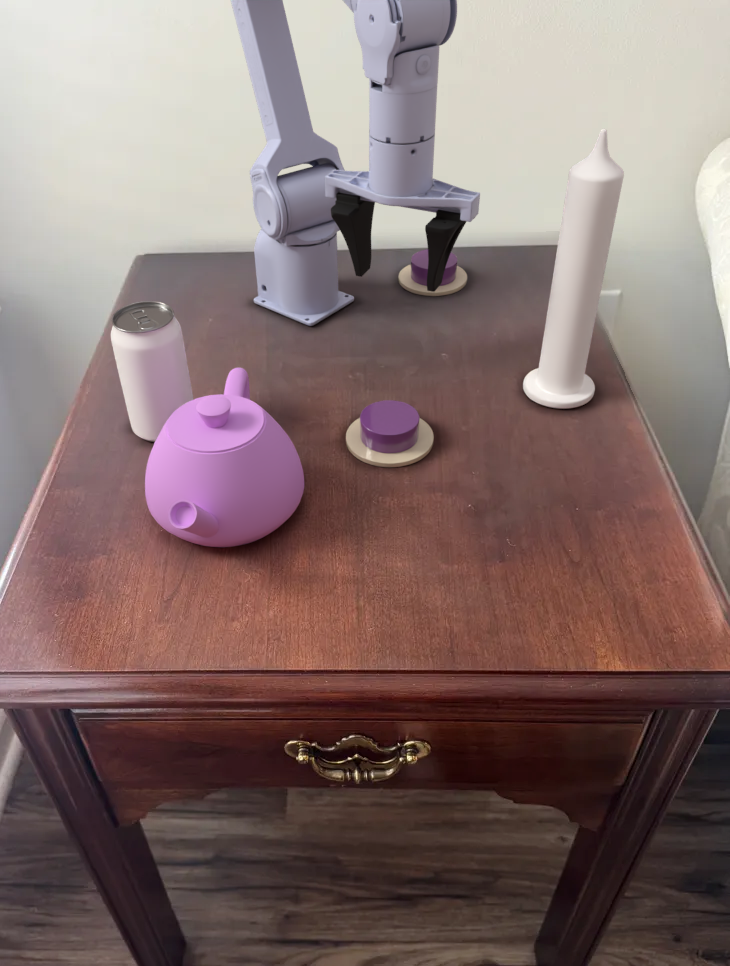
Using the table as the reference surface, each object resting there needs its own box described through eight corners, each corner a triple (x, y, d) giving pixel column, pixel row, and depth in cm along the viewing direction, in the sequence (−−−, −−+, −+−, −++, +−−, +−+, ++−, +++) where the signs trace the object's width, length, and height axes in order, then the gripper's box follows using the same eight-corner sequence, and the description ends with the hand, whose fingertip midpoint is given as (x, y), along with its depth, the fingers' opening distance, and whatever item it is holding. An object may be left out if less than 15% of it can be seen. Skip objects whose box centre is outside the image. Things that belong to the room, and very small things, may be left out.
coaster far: (384, 282, 105) (384, 279, 105) (425, 258, 109) (425, 254, 109) (440, 303, 101) (440, 299, 101) (480, 276, 105) (480, 272, 105)
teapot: (114, 584, 69) (83, 483, 62) (181, 436, 83) (163, 340, 76) (280, 599, 67) (269, 497, 60) (320, 446, 82) (316, 348, 74)
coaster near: (327, 444, 82) (327, 440, 81) (382, 404, 86) (382, 400, 86) (397, 479, 78) (397, 475, 77) (450, 435, 82) (451, 431, 82)
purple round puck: (404, 282, 104) (405, 265, 102) (417, 262, 108) (418, 246, 106) (449, 289, 102) (450, 272, 101) (461, 268, 106) (462, 252, 104)
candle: (590, 414, 84) (646, 146, 67) (517, 403, 85) (554, 139, 69) (597, 377, 88) (651, 118, 72) (528, 367, 90) (565, 113, 73)
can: (144, 452, 82) (119, 341, 74) (123, 417, 86) (97, 309, 78) (206, 431, 84) (189, 322, 76) (183, 399, 88) (164, 292, 80)
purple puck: (347, 436, 82) (347, 417, 80) (387, 411, 84) (387, 393, 83) (391, 461, 79) (391, 442, 77) (430, 434, 81) (431, 415, 80)
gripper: (497, 128, 74) (482, 275, 83) (347, 109, 79) (349, 249, 89) (468, 156, 70) (456, 308, 79) (311, 133, 75) (318, 278, 84)
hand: (398, 279), depth 84 cm, fingers open, 7 cm apart
